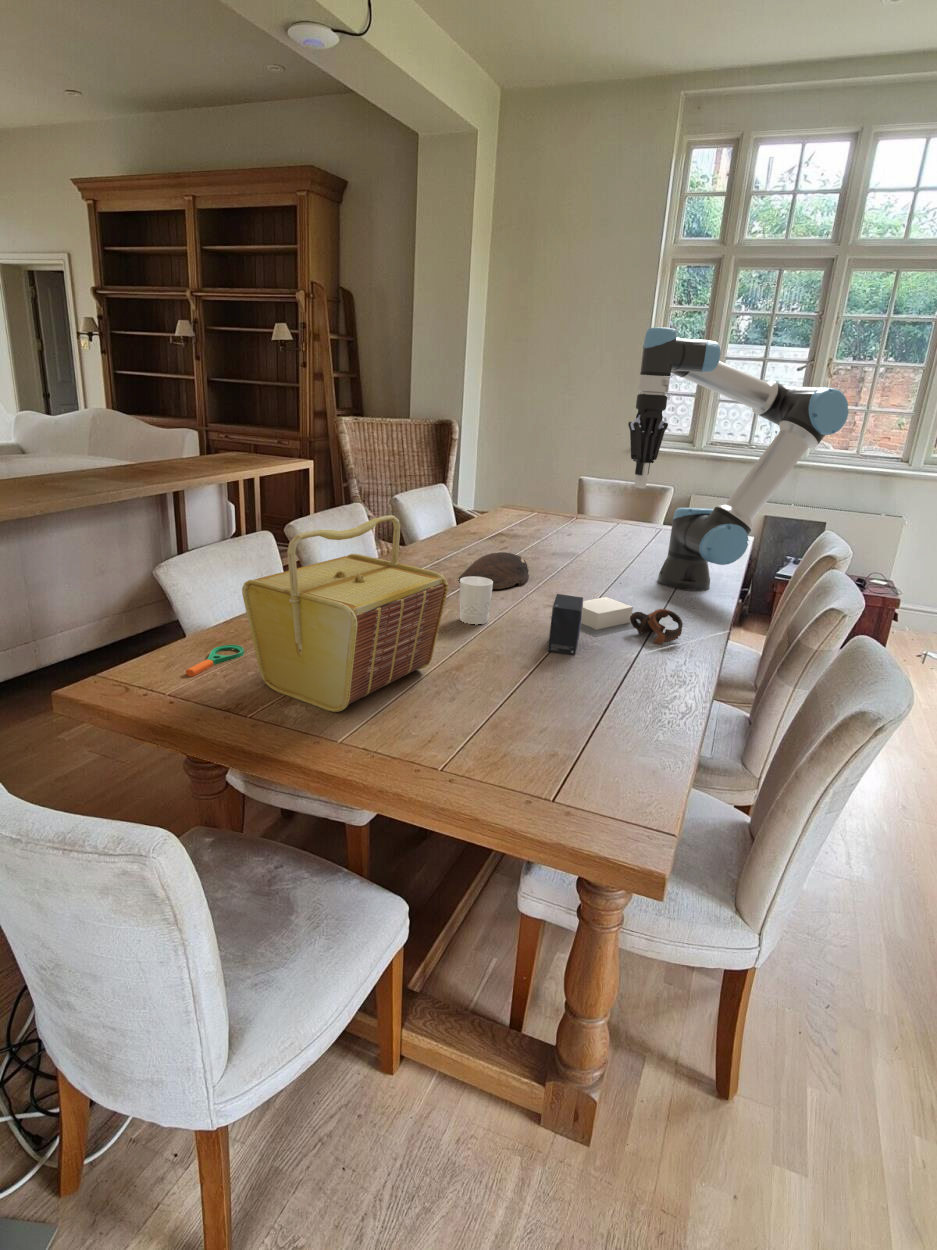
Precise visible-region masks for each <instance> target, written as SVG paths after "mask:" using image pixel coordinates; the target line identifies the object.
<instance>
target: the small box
mask: <svg viewBox="0 0 937 1250" xmlns="http://www.w3.org/2000/svg"><path fill="white" fill-rule="evenodd" d="M583 601H584V597H583V596H576V595H575V596H574V595H568V594H561V593H556V595H555V599H554V602H553V605H552V609H551V616H552V617H551V618H550V626H549V628H550V629H549V635H548V636H549V637H548V643H547V649H546V650H547V652H552V653H558V654H564V655H565V654H566V655H572V656H575V655H576V652H577V647H578V646H579V645H578V644H579V640H580V639H579V638H580V633H581V631H580V628H581V620H582V611H583Z"/></svg>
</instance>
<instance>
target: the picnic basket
mask: <svg viewBox="0 0 937 1250" xmlns="http://www.w3.org/2000/svg"><path fill="white" fill-rule="evenodd" d="M390 521H391V522H392V525H393V533H392V547H391V561H390V560H386V559H381V558H376V557H372V556H367V555H363V554H359V553H350V554H347V555H344V556H341V557H337V558H333V559H327V560H325V561H320V562H318V563H317V562H316V563H312V564H309V565H305V566H301V567H297V557H296V555H297V554H296V550H297V545H298V544H299V543H300V542H301V540H305V539H308V538H314V537H321V538H324V539H326V540H332V541H333V540H334V541H341V540H348V539H353V538H356V537H360V536H362V535H364V534H366V533H368V532H370V531H372V529H373V528H375V526H377V525H378V524H381V523H384V522H390ZM400 537H401V524H400V520H399V519H398V518H397V517H396V516H395V515H393V514H392V515H391V514H390V515H383V516H379V517H375V518H372V519H370V520H368V521H365V522H364V523H361V524H360V525H357V526H356V527H353V528H349V529H344V530H332V529H315V530H310V531H308V530H307V531H305V532H300V533H298V534H296V535H294V537H293V538H292V539H291V540H290V541H288V542H289V543H288V547H287V550H286V551H287V563H288V564H287V565H288V570H285V571H283V572H278V573H275V574H274V573H273V574H270V575H267V576H263V577H259V578H256V579H255V578H253V579H249V580H246V581H245V582H244V583H243V585H242V587H241V590H242V591H241V592H242V598H243V599H242V600H243V603H244V608H245V613H246V616H247V617H246V618H247V621H248V626H249V630H250V634H251V640H252V643H253V644H252V645H253V648H254V653H255V657H256V661H257V666H258V671H259V674H260V677H261V679H262V680H263V682H264V683H265V684H266V685H267V686H268V687H269V688H270V689H271V690H273V691H275V692H277V693H279V694H282V695H285V696H286V697H290V698H293V699H295V700H299V701H301V702H304V703H306V704H309V705H312V706H314V707H317V708H320V709H322V710H325V711H327V712H333V713H337V712H338V713H339V712H343V710H345V709H346V708H347V707H348V706H349V705H351V704H352V703H355V702H357V701H358V700H361V699H362V698H364V697H366V696H368V695H370V694H372V693H374V692H376V691H378V690H380V689H381V688H384V687H386V686H387V685H389V684H391V683H394V682H395V681H397V680H399V679H401V678H403V677H405V676H407V675H408V674H411V673H413V672H415V671H419V670H423V669H425V668H427V666H429V665H430V663H431V662H432V659H433V654H434V651H435V648H436V647H435V646H436V642H437V637H438V633H439V629H440V625H441V621H442V616H443V613H444V609H445V608H444V607H445V604H446V600H447V596H448V592H449V583H448V581H447V579H446V578H445V576H444V575H442V573H439V572H437V571H435V570H430V569H426V568H422V567H417V566H412V565H408V564H403V563H399V562H398V561H399V550H400Z"/></svg>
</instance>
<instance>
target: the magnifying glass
mask: <svg viewBox="0 0 937 1250" xmlns="http://www.w3.org/2000/svg"><path fill="white" fill-rule="evenodd" d="M229 649H231V650H229ZM232 649H234V650H232ZM222 650H224V651H235V650H238V651H239V652H238V651H237V653H234V654H229V655H226V654H225V655H224V654H223V655H222V654H218V653H220V652H223V651H222ZM219 651H220V652H219ZM217 652H218V653H217ZM244 654H245V651H244V647H243V646H240V645H238V644H225V645H221V646H217V647H214V648H213V649H212V650H210V653H209V655H208V657H207V658H206V659H205V660H202V661H201V662H199V663H196V664H195V665H193V666H191V667H189V668H187V669H186V670H185V674H186V676H187V677H188V676H189V677H195V676H197V675H199V674H200V673H202V672H205V671H206V670H208V669H209V668H212V667H213V666H214V665H217V664H221V662H222V663H225V662H224V661H226V662H228V661H227V660H229V661H232V660H231V659H233V660H236V659H235V658H237V657H239V658H241V657H242V656H244ZM240 656H241V657H240ZM237 659H238V658H237Z"/></svg>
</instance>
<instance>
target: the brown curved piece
mask: <svg viewBox="0 0 937 1250" xmlns="http://www.w3.org/2000/svg"><path fill="white" fill-rule="evenodd" d="M632 613H633V614H632V615H631V616H630V621H631V624H632V626H633V627H634V628H633V629H636V630H637V632H638V634H639V635H641V634H642V633H644V632H645V633H646V632H649V631H652V632H654V634H656V637H655V639H653V644H656V645H663V643H665V644H666V643H670V642H673V641H675V640H678V639H679V637H680V636H681V635H682V632H683V629H682V628H683V621H682V618H681V617H680V616H679V615H678V614H677V613H675V612H674V611H672V610H670V609H666V608H659V609H655V611H653V612H651V613H648V614H646V613H644V612H642V611H635V612H632ZM668 617H670V618H671V620H672V621H673V622H675V623H677V625H678V627H677V628H675V629H669V628H666V626H665V625H663V624H661V623H660V621H661V620H662V619H663V618H668ZM636 619H639V620H640V622H641V623H638V622H637V620H636Z"/></svg>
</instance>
